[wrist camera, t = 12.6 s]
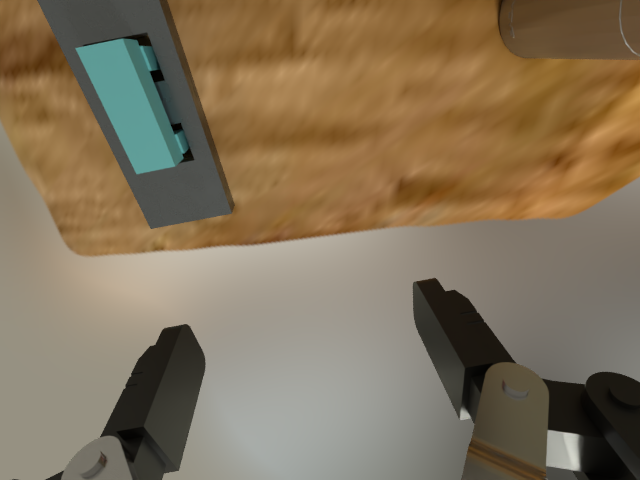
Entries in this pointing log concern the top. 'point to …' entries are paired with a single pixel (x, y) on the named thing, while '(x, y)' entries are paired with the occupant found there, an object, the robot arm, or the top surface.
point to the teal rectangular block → (134, 102)
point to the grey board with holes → (176, 96)
